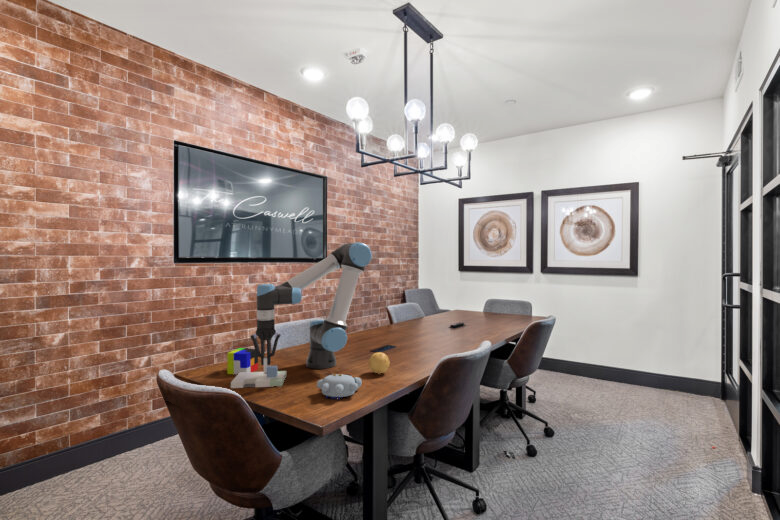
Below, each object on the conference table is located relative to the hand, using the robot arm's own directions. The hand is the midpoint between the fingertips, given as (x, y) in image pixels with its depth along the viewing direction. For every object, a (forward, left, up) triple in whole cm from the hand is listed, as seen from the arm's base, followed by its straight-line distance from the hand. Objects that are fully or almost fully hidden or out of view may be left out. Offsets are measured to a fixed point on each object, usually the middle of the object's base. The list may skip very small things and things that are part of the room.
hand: (265, 372), depth 172 cm
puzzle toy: (+14, -17, -5) cm, 23 cm away
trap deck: (+3, 0, -4) cm, 5 cm away
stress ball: (-51, -6, -5) cm, 52 cm away
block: (-3, 0, -2) cm, 3 cm away
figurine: (-33, +18, -5) cm, 38 cm away
